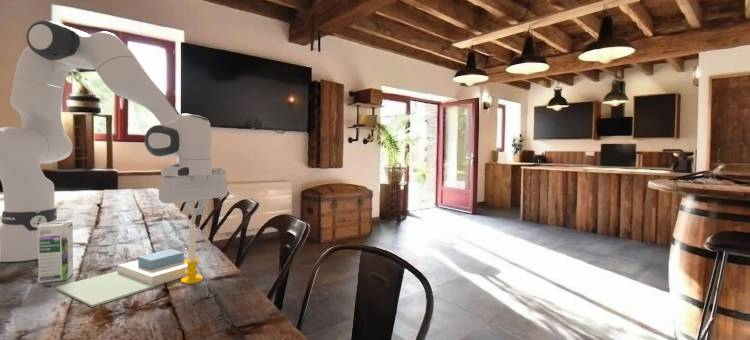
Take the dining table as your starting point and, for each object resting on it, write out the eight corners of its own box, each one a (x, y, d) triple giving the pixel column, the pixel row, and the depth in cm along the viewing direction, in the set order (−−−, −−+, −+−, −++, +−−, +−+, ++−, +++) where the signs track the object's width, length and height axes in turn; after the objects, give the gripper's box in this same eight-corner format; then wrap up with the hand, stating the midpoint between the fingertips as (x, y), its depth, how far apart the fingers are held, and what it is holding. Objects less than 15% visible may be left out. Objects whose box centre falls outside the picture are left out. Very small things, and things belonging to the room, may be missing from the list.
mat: (55, 288, 85) (55, 286, 85) (116, 273, 96) (116, 271, 96) (92, 307, 76) (92, 304, 76) (154, 287, 87) (154, 285, 87)
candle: (203, 275, 96) (203, 219, 96) (202, 282, 92) (203, 223, 91) (181, 278, 94) (181, 220, 93) (180, 285, 90) (180, 224, 89)
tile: (138, 265, 95) (138, 256, 95) (171, 257, 103) (171, 249, 103) (150, 270, 92) (150, 260, 92) (183, 261, 100) (183, 252, 100)
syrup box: (37, 284, 87) (36, 226, 86) (46, 276, 92) (45, 221, 92) (67, 280, 90) (66, 224, 89) (74, 273, 95) (73, 220, 94)
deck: (118, 273, 96) (118, 264, 95) (162, 262, 106) (162, 254, 106) (151, 286, 88) (151, 276, 88) (196, 272, 98) (196, 263, 98)
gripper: (219, 167, 116) (219, 209, 116) (154, 169, 98) (155, 219, 99) (232, 168, 113) (232, 210, 113) (168, 170, 95) (169, 221, 96)
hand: (196, 214), depth 106 cm, fingers closed
